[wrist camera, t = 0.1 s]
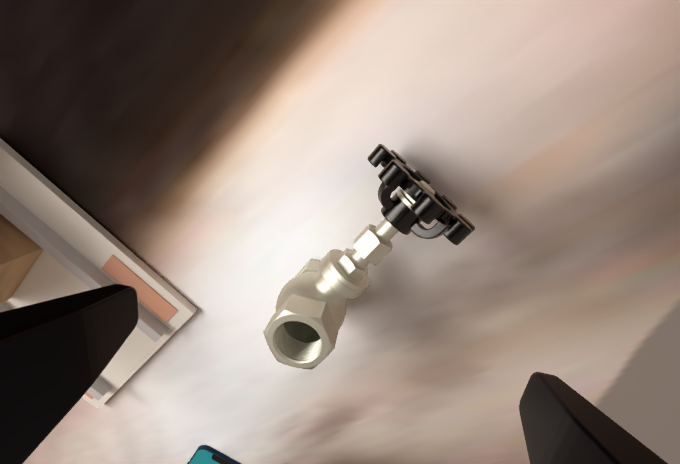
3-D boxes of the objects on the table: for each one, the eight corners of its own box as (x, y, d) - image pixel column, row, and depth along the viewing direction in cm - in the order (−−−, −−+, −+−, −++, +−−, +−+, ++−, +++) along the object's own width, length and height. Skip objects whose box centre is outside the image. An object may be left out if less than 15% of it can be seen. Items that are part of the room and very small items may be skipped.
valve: (338, 328, 25) (463, 209, 21) (322, 400, 19) (493, 252, 15) (266, 272, 24) (381, 137, 20) (225, 327, 18) (377, 150, 14)
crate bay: (197, 309, 26) (138, 371, 20) (103, 404, 31) (32, 477, 25) (-11, 128, 23) (-154, 136, 17) (-78, 263, 28) (-208, 306, 22)
